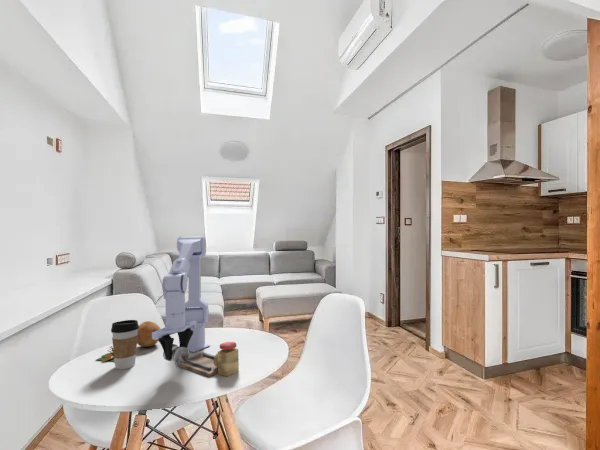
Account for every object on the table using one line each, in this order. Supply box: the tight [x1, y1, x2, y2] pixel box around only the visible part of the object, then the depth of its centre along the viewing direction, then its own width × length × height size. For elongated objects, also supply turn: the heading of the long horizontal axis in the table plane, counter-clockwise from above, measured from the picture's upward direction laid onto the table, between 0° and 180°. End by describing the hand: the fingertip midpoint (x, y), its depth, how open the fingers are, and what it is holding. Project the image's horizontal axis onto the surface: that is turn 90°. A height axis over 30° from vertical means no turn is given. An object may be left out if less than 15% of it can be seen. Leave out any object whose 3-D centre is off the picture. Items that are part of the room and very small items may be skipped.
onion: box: [137, 320, 161, 348], centre depth 128 cm, size 10×10×10 cm
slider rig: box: [175, 341, 240, 378], centre depth 106 cm, size 22×11×9 cm, turn 55°
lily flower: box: [96, 345, 115, 363], centre depth 117 cm, size 12×12×5 cm
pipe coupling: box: [162, 343, 190, 365], centre depth 99 cm, size 6×5×5 cm
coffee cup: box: [110, 319, 140, 370], centre depth 108 cm, size 8×8×15 cm
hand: (176, 356), depth 99 cm, fingers closed on pipe coupling, 4 cm apart
